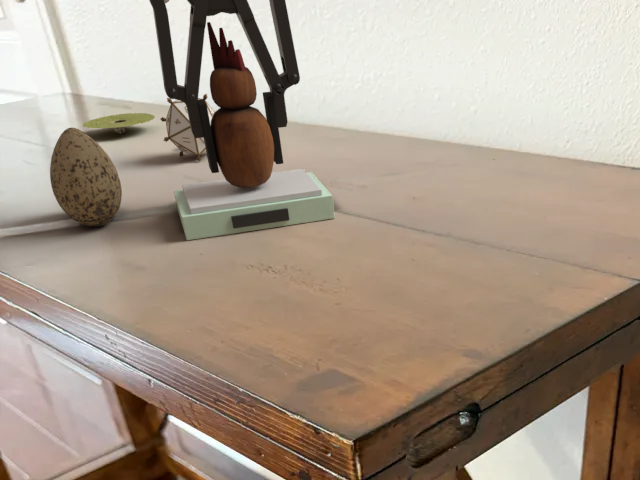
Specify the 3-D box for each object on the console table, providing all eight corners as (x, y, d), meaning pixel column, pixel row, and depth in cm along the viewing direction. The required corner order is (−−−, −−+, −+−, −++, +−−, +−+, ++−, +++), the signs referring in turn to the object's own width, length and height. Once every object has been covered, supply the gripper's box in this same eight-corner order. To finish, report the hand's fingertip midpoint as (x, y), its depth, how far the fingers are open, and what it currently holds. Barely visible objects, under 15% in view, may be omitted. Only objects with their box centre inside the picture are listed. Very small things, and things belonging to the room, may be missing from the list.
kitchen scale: (187, 241, 85) (180, 211, 83) (178, 212, 93) (172, 185, 92) (335, 219, 88) (332, 190, 86) (314, 193, 97) (310, 166, 95)
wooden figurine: (212, 183, 90) (181, 24, 80) (258, 173, 92) (233, 17, 83) (238, 195, 85) (209, 27, 76) (287, 184, 88) (264, 20, 78)
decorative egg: (56, 225, 92) (26, 129, 86) (117, 211, 95) (91, 117, 89) (77, 240, 87) (46, 139, 81) (140, 224, 90) (115, 126, 84)
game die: (196, 188, 115) (144, 136, 107) (190, 153, 120) (139, 100, 112) (245, 151, 113) (195, 94, 105) (237, 116, 117) (188, 59, 109)
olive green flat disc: (72, 136, 131) (68, 123, 130) (131, 122, 137) (128, 110, 136) (111, 144, 125) (107, 130, 123) (171, 129, 131) (168, 115, 130)
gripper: (91, -102, 69) (158, 186, 83) (312, -117, 72) (340, 161, 87) (91, -100, 74) (154, 169, 89) (296, -114, 78) (325, 146, 92)
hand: (246, 165), depth 88 cm, fingers closed on wooden figurine, 6 cm apart
